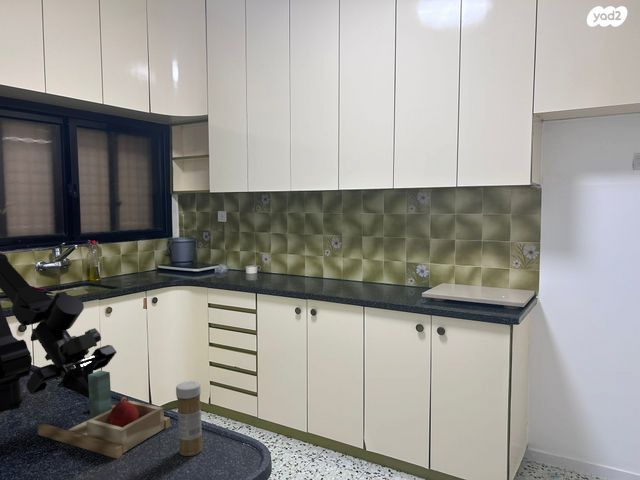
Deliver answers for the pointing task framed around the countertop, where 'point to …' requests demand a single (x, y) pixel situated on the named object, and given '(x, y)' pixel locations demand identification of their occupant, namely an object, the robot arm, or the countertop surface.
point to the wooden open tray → (100, 412)
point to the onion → (123, 413)
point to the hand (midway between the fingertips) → (94, 398)
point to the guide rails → (85, 439)
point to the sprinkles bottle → (189, 418)
